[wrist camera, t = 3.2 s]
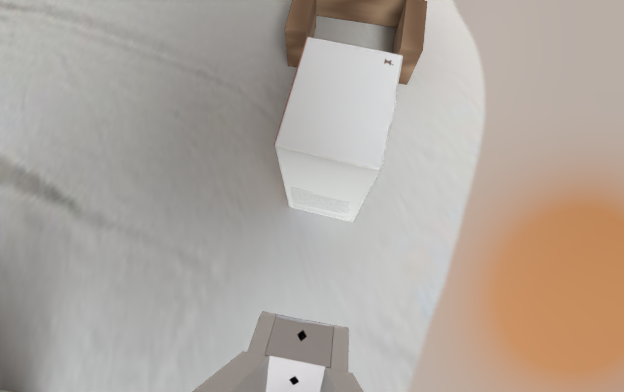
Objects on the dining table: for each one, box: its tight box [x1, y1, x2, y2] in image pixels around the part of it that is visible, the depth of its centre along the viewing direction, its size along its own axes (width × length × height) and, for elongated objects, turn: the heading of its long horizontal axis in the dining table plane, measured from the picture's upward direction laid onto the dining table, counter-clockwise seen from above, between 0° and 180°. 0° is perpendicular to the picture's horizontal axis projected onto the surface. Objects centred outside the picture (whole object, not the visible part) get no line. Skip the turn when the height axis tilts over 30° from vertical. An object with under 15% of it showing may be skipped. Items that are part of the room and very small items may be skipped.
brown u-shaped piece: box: [285, 0, 427, 84], centre depth 34 cm, size 13×10×6 cm
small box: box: [274, 37, 403, 222], centre depth 25 cm, size 8×6×13 cm
